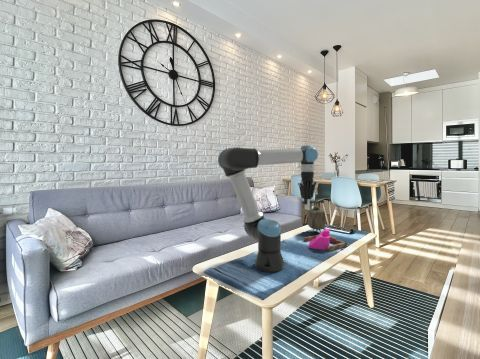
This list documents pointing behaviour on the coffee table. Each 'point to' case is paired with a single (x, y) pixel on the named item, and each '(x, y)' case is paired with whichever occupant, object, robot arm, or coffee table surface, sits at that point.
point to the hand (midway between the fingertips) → (307, 209)
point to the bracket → (321, 240)
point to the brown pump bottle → (316, 218)
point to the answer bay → (337, 245)
